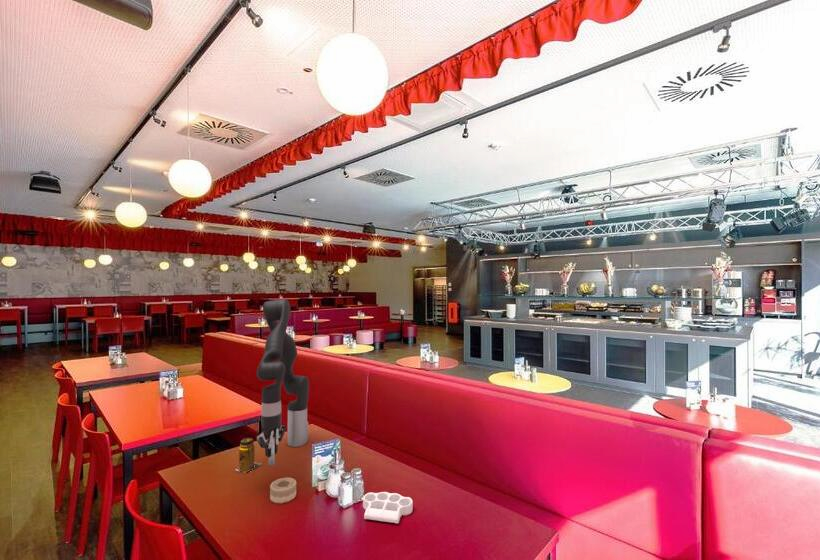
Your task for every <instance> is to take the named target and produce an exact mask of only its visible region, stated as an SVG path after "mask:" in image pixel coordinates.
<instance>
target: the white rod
mask: <svg viewBox="0 0 820 560" xmlns="http://www.w3.org/2000/svg"><path fill="white" fill-rule="evenodd" d="M267 458H268V461H267V463H268V466H271V467H272V466H274V465H275V464H276V460H275V459H276V454H275V437H273V439H272V442H271V457H267Z"/></svg>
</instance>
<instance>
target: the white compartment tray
mask: <svg viewBox="0 0 820 560" xmlns="http://www.w3.org/2000/svg"><path fill="white" fill-rule="evenodd" d="M413 503H414V502H413V499H412V498H411V497H409V496H403V495H401V494H399V493H396V492H392V493H390V492H388V491H380V492H371V491H370V492H368V493H366V494H364V495H363V497H362V507H363V509H364V510H365V512H364V515H363V519H364V520H372V521H379V522H385V523H394V524H399V523H400V520H401V517H402V515H403V516H408V515H410V514H411V513H413V511H414V510H413Z"/></svg>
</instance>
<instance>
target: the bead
mask: <svg viewBox="0 0 820 560" xmlns="http://www.w3.org/2000/svg"><path fill="white" fill-rule="evenodd" d="M296 496H297V481H296V479H295V478H292V477H282V478H278V479H275V480H274V481H272V483H271V484H270V485H269V499H270V502H272V503H274V504H284V503H288V502H290V501H292V500H294V499H295V497H296Z"/></svg>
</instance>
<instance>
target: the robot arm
mask: <svg viewBox="0 0 820 560" xmlns="http://www.w3.org/2000/svg"><path fill="white" fill-rule="evenodd" d="M262 311H263V314H264V315H263V316H264V318H265V319H264V320H265V322H266V323H267V326H268V329H269V332H270V333H269V335H268V336H267V338H266V340H265V346H264V352H263V356H262V358H261V360H260V362H259V364H258V366H257V369H256V377H257V379H258V380H259V381H263V382H265V381H275V382H274V383H271V384H269V385H266V386H263V387H262V389H261V409H260V412H261V414H260V415H261V419H260V421H261V422H260V423H261V427H262V429H261V433H259V435H256V436H255V439H256V441H257V443H258V445H259V447H260V448H263V449H265V450H264V451H265V453H264V455H265V456H266V457H267V458H268V457H271V442H272V439H273V437H275V455H277V454H278V452H279V451H278V450H279V449H278V448H279V446H278V445H279V443H280V442H282V440H283V437H284V435H285V431H286V428H287V446H289V447H292V448H293V447H294V448H296V447H297V448H298V447H302V446H304V445H306V444H307V442H308V441H309V421H308V403H309V393H310V392H309V391H310V380H309V378H308V377H307V376H306V375H305V376H304V375H295V374H294V371H293V365H294V363H295V361H296V360H297V356H298V350H297V346H296V342H295V340H294V339H293V337H292V335H290V334H289V333H287V332H286V331H287V329H288V325H289V320H290V318H291V305H290V302H289V300H288V299H286V298H284V299H283V298H282V299H276V300H268V301H265V302H264V303H263V306H262ZM282 385H283V387H284V391H285V392H286V394H288V395H291V396H292V395H293V396H296V399H294V400H291V401H290V402H288V404H287V426H286V425H282V399H281V390H282Z"/></svg>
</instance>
